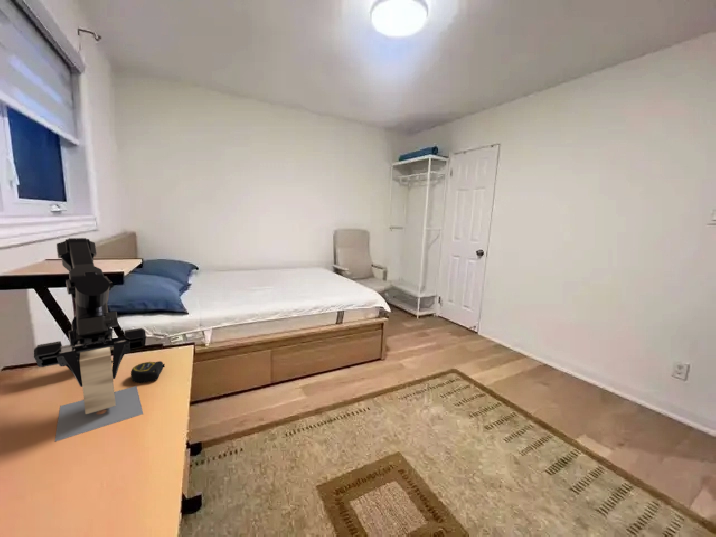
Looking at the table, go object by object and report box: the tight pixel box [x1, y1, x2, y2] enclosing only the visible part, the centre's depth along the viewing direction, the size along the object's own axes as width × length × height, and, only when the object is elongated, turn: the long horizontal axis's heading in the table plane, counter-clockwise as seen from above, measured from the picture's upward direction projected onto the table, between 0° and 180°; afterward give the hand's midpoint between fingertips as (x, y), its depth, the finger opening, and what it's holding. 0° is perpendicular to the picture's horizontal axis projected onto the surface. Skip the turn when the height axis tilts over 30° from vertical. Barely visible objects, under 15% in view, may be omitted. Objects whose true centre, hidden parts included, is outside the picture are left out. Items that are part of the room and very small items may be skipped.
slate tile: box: [54, 385, 144, 442], centre depth 69 cm, size 14×14×1 cm
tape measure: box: [130, 360, 165, 384], centre depth 83 cm, size 7×7×4 cm
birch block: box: [80, 347, 116, 414], centre depth 67 cm, size 5×5×12 cm
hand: (98, 382), depth 66 cm, fingers closed on birch block, 5 cm apart
